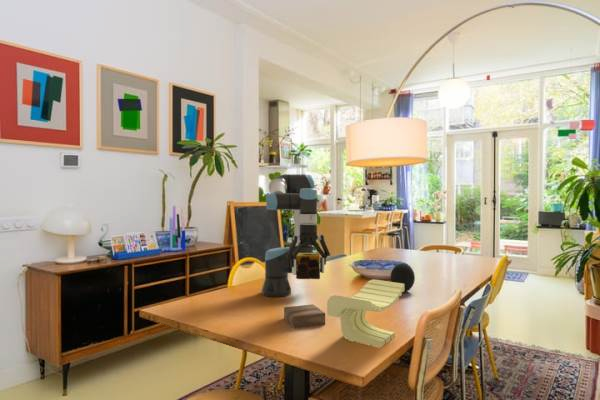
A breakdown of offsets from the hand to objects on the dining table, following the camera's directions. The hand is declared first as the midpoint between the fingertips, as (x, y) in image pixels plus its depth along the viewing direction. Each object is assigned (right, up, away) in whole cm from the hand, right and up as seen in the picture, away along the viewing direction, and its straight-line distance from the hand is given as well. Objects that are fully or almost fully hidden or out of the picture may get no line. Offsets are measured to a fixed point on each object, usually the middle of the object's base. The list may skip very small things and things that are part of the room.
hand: (308, 273), depth 172 cm
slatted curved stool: (+21, -18, -27) cm, 39 cm away
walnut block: (-2, -18, -10) cm, 21 cm away
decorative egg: (+51, -17, +38) cm, 66 cm away
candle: (0, -2, +1) cm, 2 cm away
